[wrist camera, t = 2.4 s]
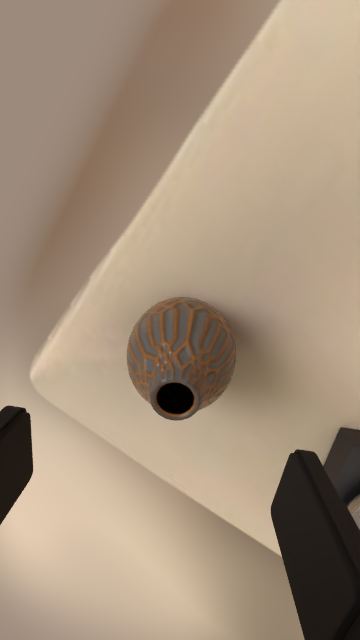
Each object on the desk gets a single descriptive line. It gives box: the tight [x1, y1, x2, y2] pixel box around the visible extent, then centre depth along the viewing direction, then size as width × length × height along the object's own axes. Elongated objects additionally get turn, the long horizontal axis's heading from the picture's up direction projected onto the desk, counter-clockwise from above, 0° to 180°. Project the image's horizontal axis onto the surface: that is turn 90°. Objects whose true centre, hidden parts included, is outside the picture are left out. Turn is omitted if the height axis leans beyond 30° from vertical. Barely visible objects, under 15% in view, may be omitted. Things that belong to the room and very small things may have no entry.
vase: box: [127, 297, 236, 420], centre depth 16 cm, size 7×7×9 cm
